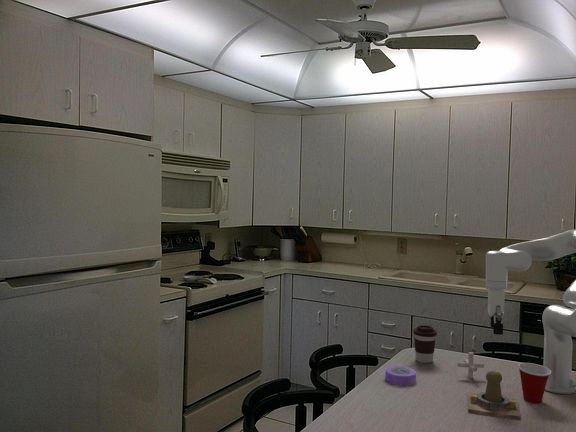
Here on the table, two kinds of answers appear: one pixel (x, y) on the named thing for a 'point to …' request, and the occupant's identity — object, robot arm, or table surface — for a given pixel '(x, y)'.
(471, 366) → the pipe connector
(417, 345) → the coffee cup
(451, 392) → the table surface
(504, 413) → the socket
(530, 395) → the plastic cup
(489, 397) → the olive knobbed peg
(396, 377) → the masking tape
